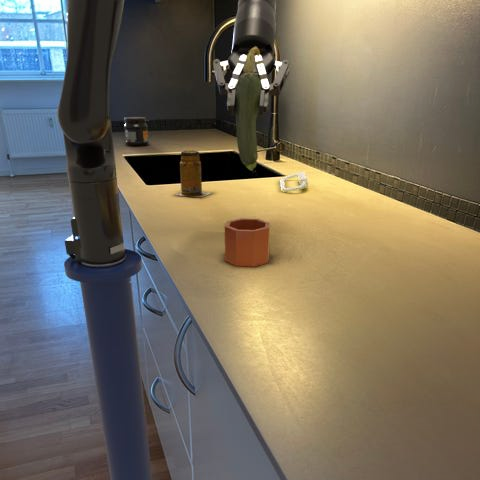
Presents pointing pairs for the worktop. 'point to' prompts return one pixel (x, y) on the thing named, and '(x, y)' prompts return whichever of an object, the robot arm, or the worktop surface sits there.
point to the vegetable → (248, 110)
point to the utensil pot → (247, 242)
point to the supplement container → (136, 131)
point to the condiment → (191, 175)
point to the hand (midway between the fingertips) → (247, 111)
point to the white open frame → (301, 179)
